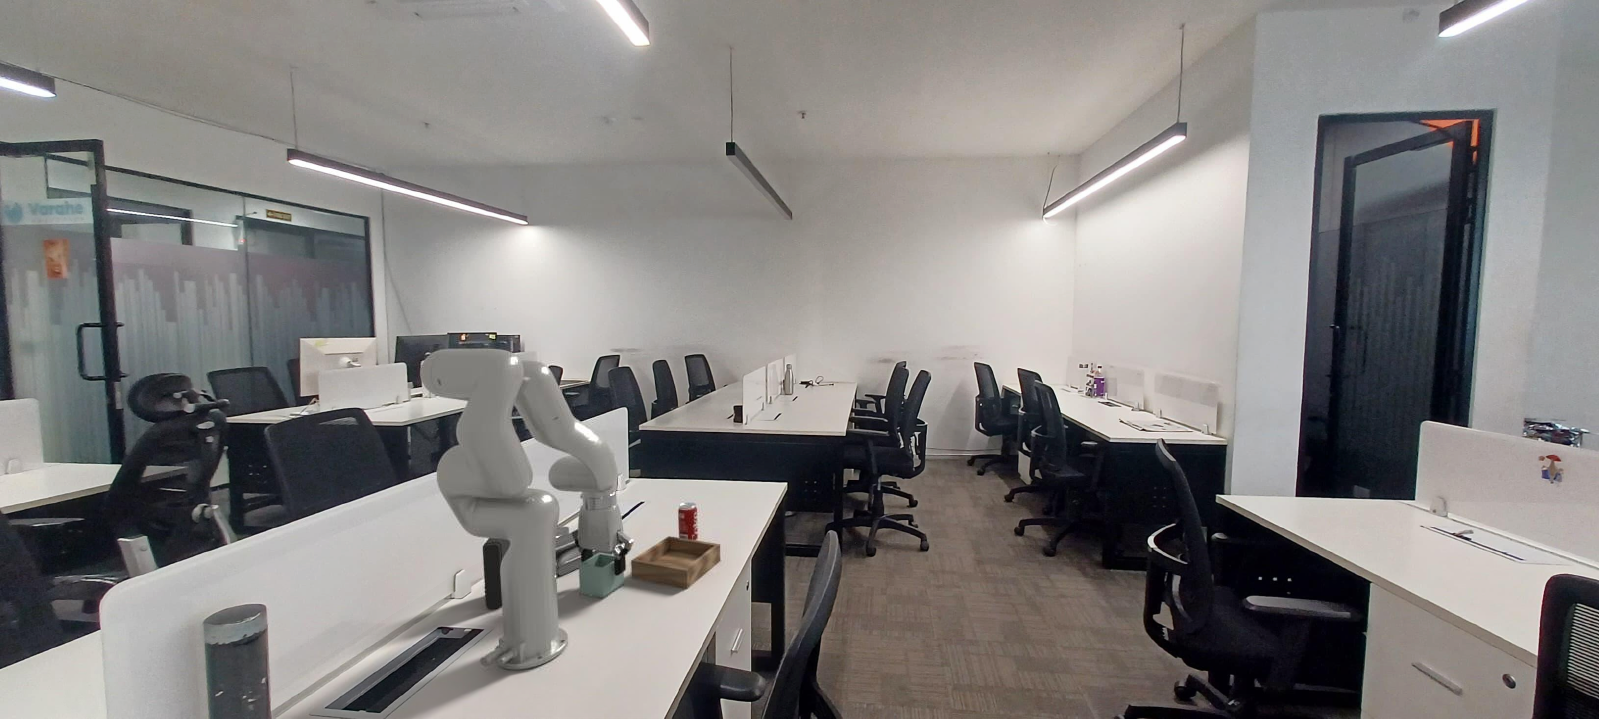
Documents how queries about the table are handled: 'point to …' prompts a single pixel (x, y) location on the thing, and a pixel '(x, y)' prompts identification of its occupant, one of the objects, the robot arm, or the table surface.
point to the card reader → (493, 570)
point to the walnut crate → (676, 562)
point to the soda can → (688, 521)
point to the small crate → (599, 576)
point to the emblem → (568, 552)
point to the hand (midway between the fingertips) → (603, 569)
